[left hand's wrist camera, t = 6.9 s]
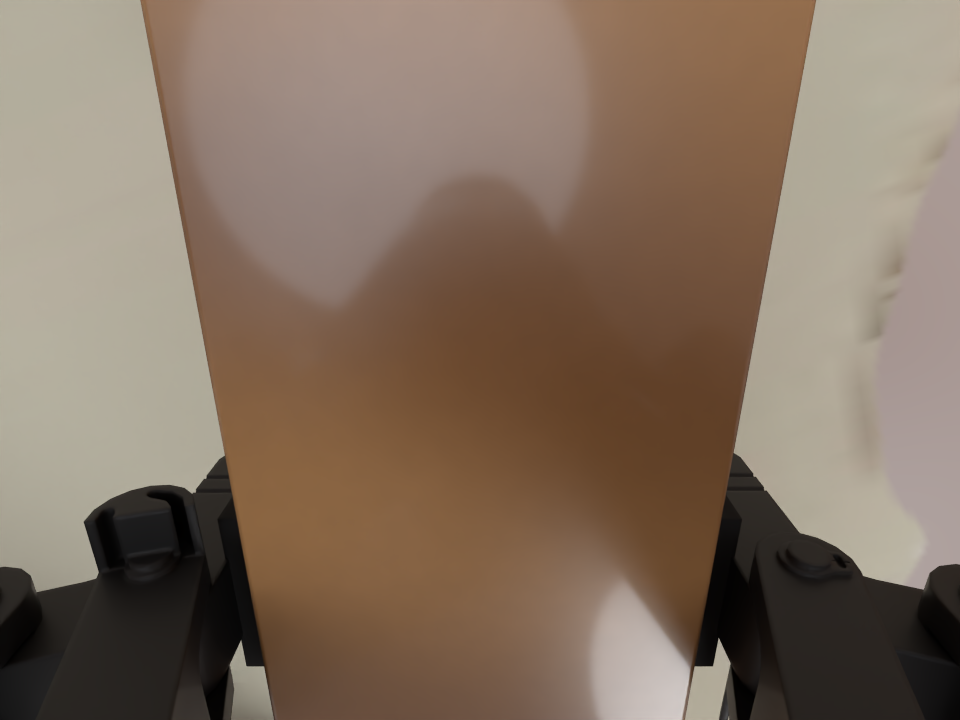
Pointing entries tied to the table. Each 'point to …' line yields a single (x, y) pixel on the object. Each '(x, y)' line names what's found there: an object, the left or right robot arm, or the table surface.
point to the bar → (478, 330)
